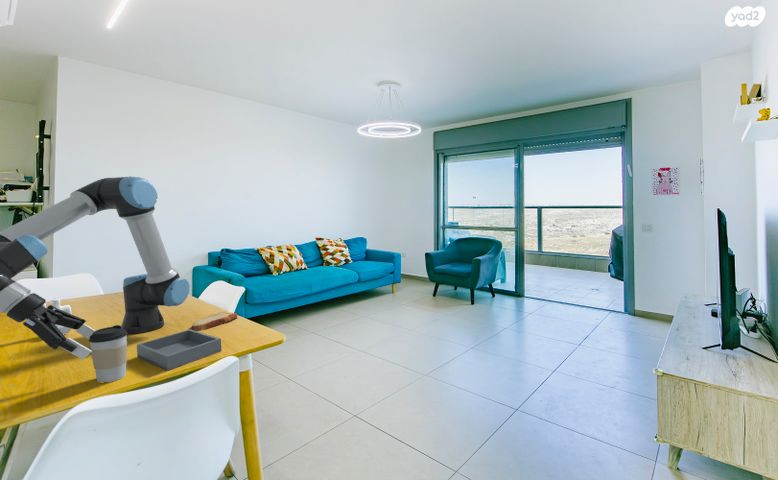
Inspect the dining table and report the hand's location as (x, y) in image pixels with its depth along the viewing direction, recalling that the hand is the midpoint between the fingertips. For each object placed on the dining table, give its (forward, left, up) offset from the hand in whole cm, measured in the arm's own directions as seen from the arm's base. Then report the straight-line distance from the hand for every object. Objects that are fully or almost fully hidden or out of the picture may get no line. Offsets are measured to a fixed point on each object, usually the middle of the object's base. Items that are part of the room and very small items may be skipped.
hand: (94, 347), depth 102 cm
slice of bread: (-21, +50, -11) cm, 56 cm away
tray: (+1, +23, -10) cm, 25 cm away
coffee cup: (+1, +3, -10) cm, 11 cm away
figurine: (-63, +8, -10) cm, 64 cm away
